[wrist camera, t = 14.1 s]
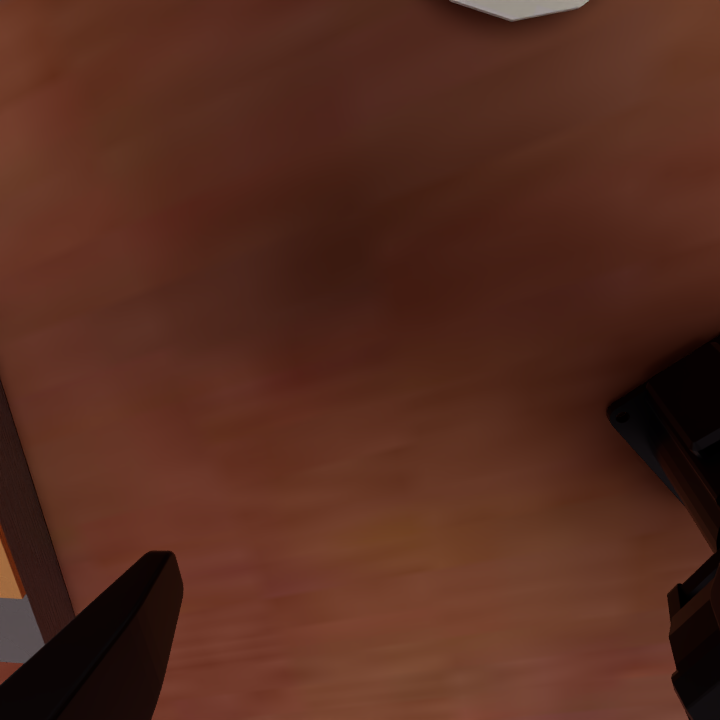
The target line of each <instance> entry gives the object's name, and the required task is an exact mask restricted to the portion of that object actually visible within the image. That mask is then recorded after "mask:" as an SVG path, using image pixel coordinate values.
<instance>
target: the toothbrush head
mask: <svg viewBox="0 0 720 720" xmlns="http://www.w3.org/2000/svg"><path fill="white" fill-rule="evenodd" d="M449 1H450V2H453V3H456V4H459V5H462V6H465V7H468V8H471V9H474V10H477V11H480V12H483V13H486V14H489V15H493V16H496V17H499V18H502V19H505V20H508V21H511V22H513V21H518V20H523V19H528V18H534V17H539V16H544V15H549V14H554V13H560V12H565V11H570V10H575V9H578V8H580V7H581V6H583V5H584V4H585V3H586V2H588V1H589V0H449Z"/></svg>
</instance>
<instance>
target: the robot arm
mask: <svg viewBox="0 0 720 720" xmlns="http://www.w3.org/2000/svg"><path fill="white" fill-rule="evenodd" d="M621 412H626V413H625V414H624V415H623V416H621V417H616V416H617V415H618V414H619V413H621ZM606 415H607V417H608V419H609V421H610V423H611V425H612V426H613V427H614V428H615V429H616V430H617V431H618V432H619V433H620V435H621V436H622V437H623V438H624V439H625V440H626V441H627V442H628V443H629V445H630V446H631V447H632V448H633V449H634V450H635V451H636V452H637V454H638V455H639V456H640V457H641V458H642V459H643V460H644V461H645V462H646V464H647V465H648V466H649V467H650V468H651V469H652V470H653V471H654V472H655V474H656V475H657V476H658V477H659V478H660V479H661V480H662V481H663V482H664V484H665V485H666V486H667V487H668V488H669V489H670V490H671V491H672V492H673V494H674V495H675V496H676V497H677V498H678V499H679V500H680V501H681V503H682V504H683V505H684V506H685V507H686V508H687V510H688V512H689V513H690V515H691V517H692V518H693V520H694V521H695V523H696V525H697V526H698V528H699V530H700V531H701V533H702V534H703V536H704V538H705V539H706V541H707V543H708V544H709V546H710V547H711V549H712V551H713V552H714V554H713V555H712V556H711V557H710V558H709V559H708V560H707V561H706V562H705V563H704V564H703V565H702V566H701V567H700V568H699V569H698V570H697V571H696V572H695V573H694V574H692V575H691V576H690V577H689V578H688V579H687V580H686V581H685V582H684V583H683V584H680V583H679V584H677V585H676V586H675V587H674V588H673V589H672V590H671V591H670V592H669V593H668V594H667V598H668V606H669V614H670V622H671V626H670V632H669V640H670V644H671V648H672V652H673V656H674V660H675V664H676V670H677V671H675V672H674V673H673V674H672V677H671V679H672V683H673V687H674V690H675V692H676V694H677V696H678V698H679V700H680V702H681V703H682V705H683V707H684V709H685V711H686V714H687V716H688V718H689V720H720V335H719V336H718V337H716V338H715V339H713V340H712V341H710V342H708V343H706V344H705V345H703V346H701V347H700V348H698V349H697V350H695V351H694V352H692V353H690V354H689V355H687V356H686V357H684V358H683V359H681V360H679V361H678V362H676V363H675V364H673V365H672V366H670V367H668V368H667V369H665V370H664V371H662V372H661V373H659V374H657V375H656V376H654V377H653V378H651V379H650V380H649V381H647V382H646V383H644V384H642V385H641V386H639V387H638V388H636V389H634V390H633V391H631V392H630V393H628V394H627V395H625V396H623V397H622V398H620V399H619V400H617V401H616V402H614V403H612V404H611V405H610V406H609V407H608V409H607V411H606ZM182 598H183V582H182V578H181V574H180V571H179V567H178V563H177V560H176V557H175V554H174V553H173V552H172V551H149V552H148V553H146V554H145V555H143V556H142V557H141V558H140V559H139V560H138V561H137V562H136V563H135V564H133V565H132V566H131V567H130V568H129V569H128V570H127V571H126V572H125V573H124V574H122V575H121V576H120V577H119V578H118V579H117V580H116V581H115V582H114V583H113V584H111V585H110V586H109V587H108V588H107V589H106V590H105V591H104V592H103V593H101V594H100V595H99V596H98V597H97V598H96V599H95V600H94V601H93V602H92V603H90V604H89V605H88V606H87V607H86V608H85V609H84V610H83V611H82V612H81V613H79V614H78V615H77V616H76V617H75V618H74V619H73V620H72V621H71V622H69V623H68V624H67V625H66V626H65V627H64V628H63V629H62V630H61V631H60V632H58V633H57V634H56V635H55V636H54V637H53V638H52V639H51V640H50V641H49V642H47V643H46V644H45V645H44V646H43V647H42V648H41V649H40V650H39V651H37V652H36V653H35V654H34V655H33V656H32V657H31V658H30V659H29V660H28V661H26V662H25V663H24V664H23V665H22V666H21V667H20V668H19V669H18V670H17V671H15V672H14V673H13V674H12V675H11V676H10V677H9V678H8V679H7V680H5V681H4V682H3V683H2V684H1V685H0V720H151V719H152V716H153V713H154V710H155V707H156V704H157V701H158V698H159V695H160V691H161V688H162V684H163V681H164V677H165V673H166V668H167V664H168V660H169V655H170V651H171V646H172V642H173V638H174V633H175V629H176V625H177V620H178V616H179V612H180V607H181V603H182Z"/></svg>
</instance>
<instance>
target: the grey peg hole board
mask: <svg viewBox="0 0 720 720" xmlns="http://www.w3.org/2000/svg"><path fill="white" fill-rule="evenodd" d="M74 618H75V615H74V612H73V609H72V606H71V603H70V599H69V596H68V593H67V590H66V587H65V584H64V580H63V577H62V574H61V571H60V568H59V565H58V562H57V558H56V555H55V552H54V549H53V546H52V543H51V539H50V536H49V533H48V530H47V527H46V524H45V520H44V517H43V514H42V511H41V508H40V505H39V501H38V498H37V495H36V492H35V489H34V486H33V482H32V479H31V476H30V473H29V470H28V467H27V464H26V460H25V457H24V454H23V451H22V448H21V445H20V441H19V438H18V435H17V432H16V429H15V426H14V422H13V419H12V416H11V413H10V410H9V407H8V403H7V400H6V397H5V394H4V391H3V388H2V384H1V381H0V662H14V663H25V662H26V661H28V660H29V659H30V658H31V657H32V656H33V655H34V654H35V653H36V652H37V651H39V650H40V649H41V648H42V647H43V646H44V645H45V644H46V643H47V642H49V641H50V640H51V639H52V638H53V637H54V636H55V635H56V634H57V633H58V632H60V631H61V630H62V629H63V628H64V627H65V626H66V625H67V624H68V623H69V622H71V621H72V620H73V619H74Z"/></svg>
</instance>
